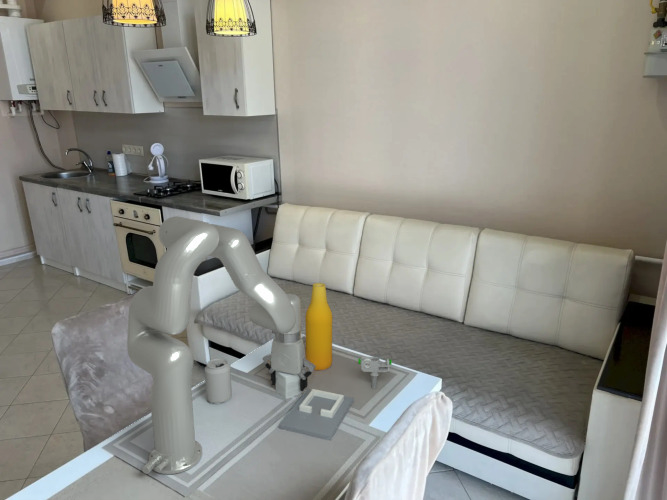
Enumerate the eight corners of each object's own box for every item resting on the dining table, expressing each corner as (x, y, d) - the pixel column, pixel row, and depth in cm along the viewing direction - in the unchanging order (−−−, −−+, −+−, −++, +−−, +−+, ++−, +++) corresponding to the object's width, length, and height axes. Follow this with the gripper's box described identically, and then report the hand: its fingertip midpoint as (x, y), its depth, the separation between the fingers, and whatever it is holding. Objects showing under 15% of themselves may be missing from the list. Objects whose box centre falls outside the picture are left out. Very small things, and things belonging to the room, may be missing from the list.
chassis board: (330, 440, 128) (330, 431, 128) (279, 428, 133) (279, 419, 133) (353, 401, 147) (354, 393, 146) (307, 392, 151) (307, 384, 151)
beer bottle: (303, 359, 173) (303, 281, 165) (329, 357, 174) (330, 280, 167) (307, 371, 164) (306, 290, 157) (334, 369, 165) (335, 288, 158)
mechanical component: (390, 390, 153) (391, 361, 150) (357, 389, 153) (358, 360, 151) (389, 385, 156) (390, 356, 153) (357, 384, 156) (358, 356, 154)
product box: (275, 391, 152) (274, 369, 150) (291, 385, 156) (291, 364, 154) (285, 399, 147) (285, 377, 146) (302, 393, 151) (302, 371, 149)
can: (217, 408, 142) (215, 371, 139) (201, 399, 147) (199, 363, 144) (237, 397, 148) (235, 361, 145) (220, 389, 152) (219, 354, 150)
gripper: (256, 335, 146) (258, 386, 150) (309, 344, 140) (310, 397, 145) (268, 326, 153) (269, 375, 157) (319, 334, 147) (319, 385, 152)
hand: (289, 386), depth 151 cm, fingers open, 9 cm apart
